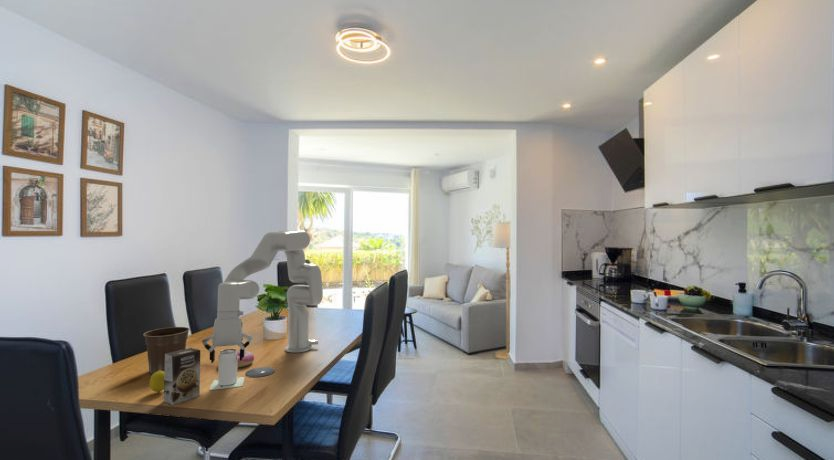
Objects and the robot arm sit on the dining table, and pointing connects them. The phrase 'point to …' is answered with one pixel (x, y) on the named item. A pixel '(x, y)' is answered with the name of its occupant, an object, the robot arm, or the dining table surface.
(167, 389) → the coffee box
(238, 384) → the card
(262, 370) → the coaster
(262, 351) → the dining table surface
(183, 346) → the plant pot
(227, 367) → the can
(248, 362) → the donut
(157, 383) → the lemon
